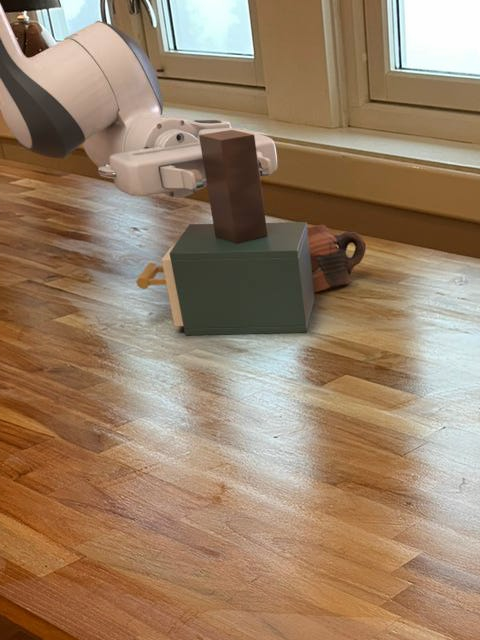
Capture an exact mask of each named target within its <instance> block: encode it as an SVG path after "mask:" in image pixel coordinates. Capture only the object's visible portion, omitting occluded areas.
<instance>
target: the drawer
mask: <svg viewBox="0 0 480 640" xmlns="http://www.w3.org/2000/svg"><path fill="white" fill-rule="evenodd" d="M183 233H184V232H180V233H179V235H178V236H177V237H176V239H175V240H174V241H173V243H172V244H171V246H170V247H169V249H168V250H167V252H166V253H165V254H164V256H163V257H162V258H161V264H162V266H158V265H157V264H156V263H154V262H149V263H148V264H147V265H146V266H145V268H144V269H143V270H142V272H140V275H139V276H138V277H137V279H136V285H137V287H138V288H139V289H142V290H145V289H147V288H148V287H149V286H163V285H164V286H166V289H167V295H168V299H169V305H170V310H171V315H172V319H173V325H174V327H184V326H183V321H182V315H181V310H180V305H179V300H178V295H177V289H176V284H175V279H174V274H173V269H172V264H171V259H170V254H169V253H170V252H171V250H172V249H173V247H174V246H175V244H176V243H177V242H178V240H179V239H180V237H181V236H182V234H183ZM158 273H163V275H164V278H161V277H160V278H155V277H156V276H157V274H158Z"/></svg>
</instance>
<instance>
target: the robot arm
mask: <svg viewBox="0 0 480 640" xmlns="http://www.w3.org/2000/svg"><path fill="white" fill-rule="evenodd" d="M163 108H164V107H163V96H162V89H161V86H160V82H159V79H158V76H157V72H156V70H155V68H154V66H153V64H152V62H151V60H150V58H149V57H148V55H147V53H146V51H145V50H144V49H143V47H142V46H141V45H140V44H139V43H138V42H137V40H135V39H134V38H133V37H131V36H130V35H129V34H127V33H126V32H124V31H123V30H121V29H120V28H118V27H116V26H114V25H113V24H111V23H109V22H105V21H100V20H97V21H95V22H93V23H91V24H89V25H87V26H85V27H83V28H82V29H80V30H77V31H76V32H74V33H72V34H70V35H68V36H66V37H65V38H64V39H63V40H61V41H59V42H58V43H55V44H53V45H52V46H50V47H48V48H46V49H44V50H43V51H41V52H39V53H37V54H36V55H34V56H31V57H27V56H26V55H25V54H24V52H23V50H22V49H21V46H20V44H19V42H18V39H17V37H16V35H15V33H14V31H13V28H12V26H11V23H10V22H9V20H8V17H7V15H6V13H5V10H4V8H3V6H2V4H1V3H0V113H1V115H2V117H3V120H4V123H6V126H7V127H8V129H9V131H10V132H11V133H12V135H13V136H14V138H15V139H16V141H17V142H18V143H19V144H20V145H21V146H22V148H24V149H26V150H27V151H30V152H31V153H34V154H37V155H40V156H43V157H47V158H52V159H64V158H66V157H67V156H69V155H70V154H71V153H73V152H74V151H75V150H77V149H78V148H79V147H80V146H82V147H83V150H84V152H85V153H86V155H87V157H88V158H89V159H90V160H91V162H92V163H93V164H94V165H96V166H97V169H98V170H97V172H98V175H99V176H101V177H103V178H106V179H113V183H114V186H115V188H116V189H117V190H119V191H121V192H122V193H124V194H127V195H129V196H131V197H136V198H137V197H139V198H140V197H141V198H142V197H148V196H149V197H150V196H153V195H158V194H159V195H164V196H166V197H170V198H177V199H182V198H185V197H189V196H191V195H192V194H194V193H195V192H197V191H199V190H201V189H204V188H205V187H207V182H206V176H205V170H204V163H203V157H202V151H201V145H200V139H199V135H202V134H208V133H215V132H221V131H227V130H235V131H240V132H244V133H249V134H253V135H254V136H255V143H256V151H257V158H258V166H259V174H260V177H266V176H272V175H273V173H275V172H276V171H277V170H278V166H279V165H278V153H277V147H276V143H275V141H274V140H273V138H272V137H270V136H267V135H265V134H261V133H258V132H255V131H252V130H248V129H244V128H237V127H232V124H231V122H230V121H227V120H223V119H222V120H221V119H218V120H217V119H206V120H205V119H203V120H202V119H194V120H190V119H186V118H182V117H178V116H174V117H171V116H168V115H163V112H164V111H163V110H164V109H163Z"/></svg>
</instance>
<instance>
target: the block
mask: <svg viewBox="0 0 480 640" xmlns="http://www.w3.org/2000/svg"><path fill="white" fill-rule="evenodd" d="M199 139H200V145H201V151H202V157H203V163H204V170H205V176H206V182H207V186H206V187H207V193H208V199H209V205H210V212H211V218H212V224H213V225H214V231H215V236H216V237H218V238H221V239H224V240H227V241H230V242H233V243H236V244H237V243H241V242H246V241H250V240H254V239H258V238H262V237H267V236H268V234H267V227H266V223H267V219H266V212H265V205H264V196H263V188H262V183H261V176H260V174H259V166H258V158H257V151H256V143H255V136H254V135H253V134H249V133H244V132H240V131H235V130H227V131H221V132H215V133H208V134H202V135H199Z"/></svg>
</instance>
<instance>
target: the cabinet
mask: <svg viewBox="0 0 480 640" xmlns="http://www.w3.org/2000/svg"><path fill="white" fill-rule="evenodd" d="M266 227H267V234H268V236H267V237H262V238H258V239H254V240H250V241H246V242H241V243H237V244H236V243H233V242H230V241H227V240H224V239H221V238H218V237H216V236H215V231H214V225H213V223H190V224H188V226H187V227H186V228H185V230H184V232H182V233H183V234H182V236H181V237H180V239H179V240H178V242H177V243H176V244H175V246H174V247H173V249H172V250H171V252H170V253H169V254H170V259H171V264H172V269H173V274H174V279H175V284H176V289H177V295H178V300H179V305H180V310H181V315H182V321H183V326H182V327H183V331H184V335H185V336H213V335H214V336H219V335H254V334H256V335H258V334H297V333H299V334H301V333H302V334H303V333H307V332H308V328H309V325H310V320H311V316H312V312H313V308H314V305H315V301H316V296H315V291H314V285H313V276H312V275H313V272H312V267H311V257H310V248H309V239H308V229H307V228H308V223H307V221H291V222H290V221H289V222H287V221H286V222H284V221H283V222H266Z"/></svg>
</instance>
